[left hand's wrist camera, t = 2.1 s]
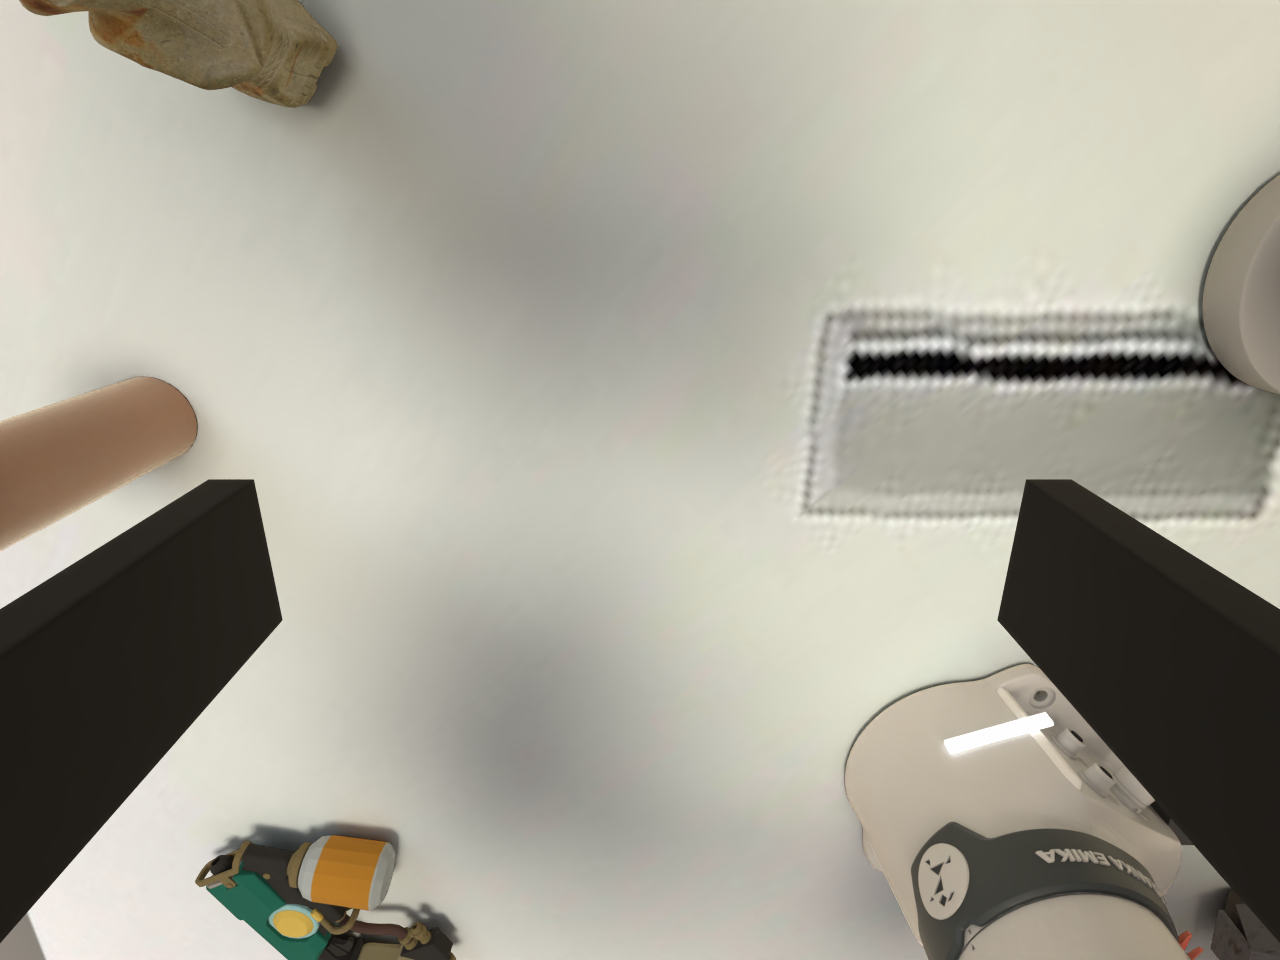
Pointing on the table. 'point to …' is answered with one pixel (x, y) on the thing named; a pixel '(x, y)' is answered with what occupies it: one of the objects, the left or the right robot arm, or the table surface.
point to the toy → (1242, 934)
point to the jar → (86, 450)
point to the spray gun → (318, 899)
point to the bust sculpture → (1248, 293)
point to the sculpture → (213, 42)
